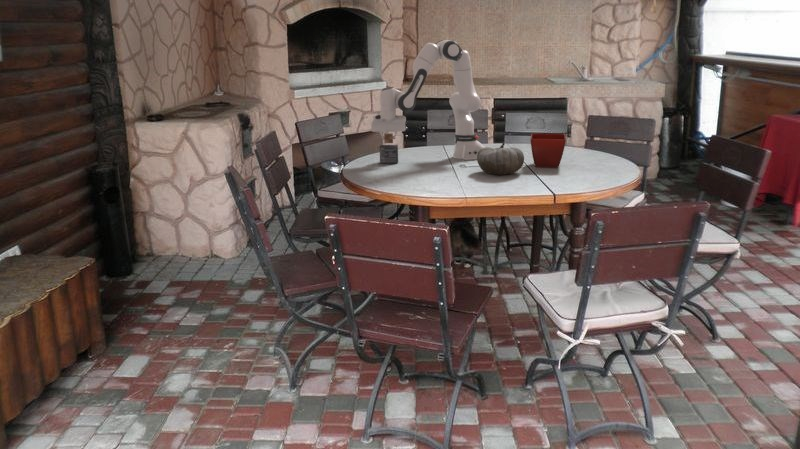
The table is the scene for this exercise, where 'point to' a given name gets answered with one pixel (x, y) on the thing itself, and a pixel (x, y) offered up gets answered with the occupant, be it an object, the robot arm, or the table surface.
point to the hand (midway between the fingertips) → (388, 139)
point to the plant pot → (547, 149)
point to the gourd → (500, 160)
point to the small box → (388, 154)
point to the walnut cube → (388, 137)
